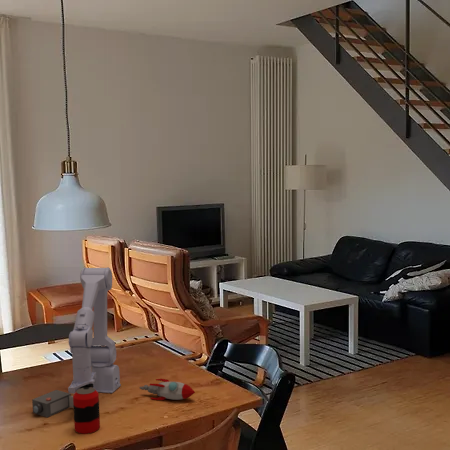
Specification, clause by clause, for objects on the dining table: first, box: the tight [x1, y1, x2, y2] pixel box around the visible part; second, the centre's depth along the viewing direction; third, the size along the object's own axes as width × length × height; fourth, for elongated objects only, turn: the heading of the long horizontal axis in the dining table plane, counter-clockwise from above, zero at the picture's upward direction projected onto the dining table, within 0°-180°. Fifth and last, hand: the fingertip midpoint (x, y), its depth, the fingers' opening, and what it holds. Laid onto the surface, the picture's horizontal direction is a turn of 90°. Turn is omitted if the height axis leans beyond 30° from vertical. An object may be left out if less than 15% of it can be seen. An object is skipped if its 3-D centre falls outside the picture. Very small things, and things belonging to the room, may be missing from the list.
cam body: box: [31, 389, 72, 418], centre depth 203 cm, size 7×12×5 cm, turn 146°
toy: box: [139, 378, 196, 401], centre depth 212 cm, size 21×7×7 cm
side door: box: [68, 395, 74, 409], centre depth 204 cm, size 2×8×4 cm, turn 77°
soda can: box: [72, 387, 101, 435], centre depth 188 cm, size 8×8×12 cm
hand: (83, 407), depth 201 cm, fingers closed
